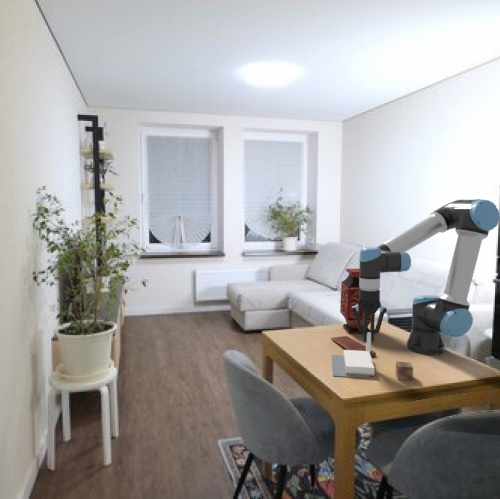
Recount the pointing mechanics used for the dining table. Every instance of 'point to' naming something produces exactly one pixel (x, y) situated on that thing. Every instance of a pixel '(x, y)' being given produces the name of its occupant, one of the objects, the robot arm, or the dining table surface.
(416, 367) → the dining table surface
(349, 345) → the wooden tablet
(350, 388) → the dining table surface
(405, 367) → the walnut block
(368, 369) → the tile
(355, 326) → the vase
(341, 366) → the felt mat
